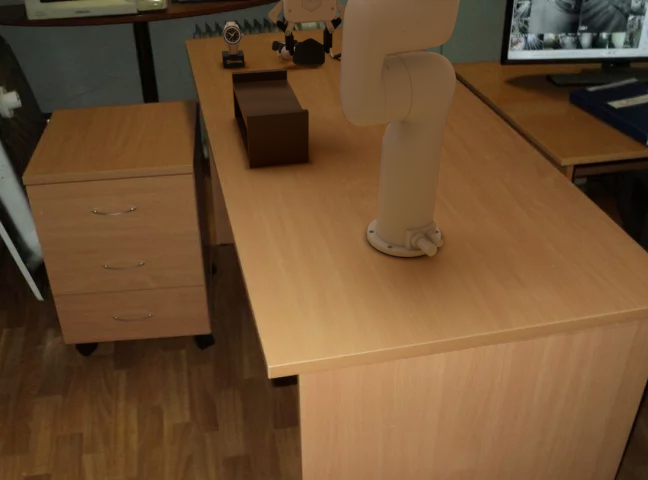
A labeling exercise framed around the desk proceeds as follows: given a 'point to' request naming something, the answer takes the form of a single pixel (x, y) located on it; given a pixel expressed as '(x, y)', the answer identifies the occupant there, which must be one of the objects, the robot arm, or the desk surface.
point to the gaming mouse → (309, 53)
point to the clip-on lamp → (285, 54)
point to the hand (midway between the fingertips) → (308, 51)
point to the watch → (232, 46)
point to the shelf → (270, 118)
